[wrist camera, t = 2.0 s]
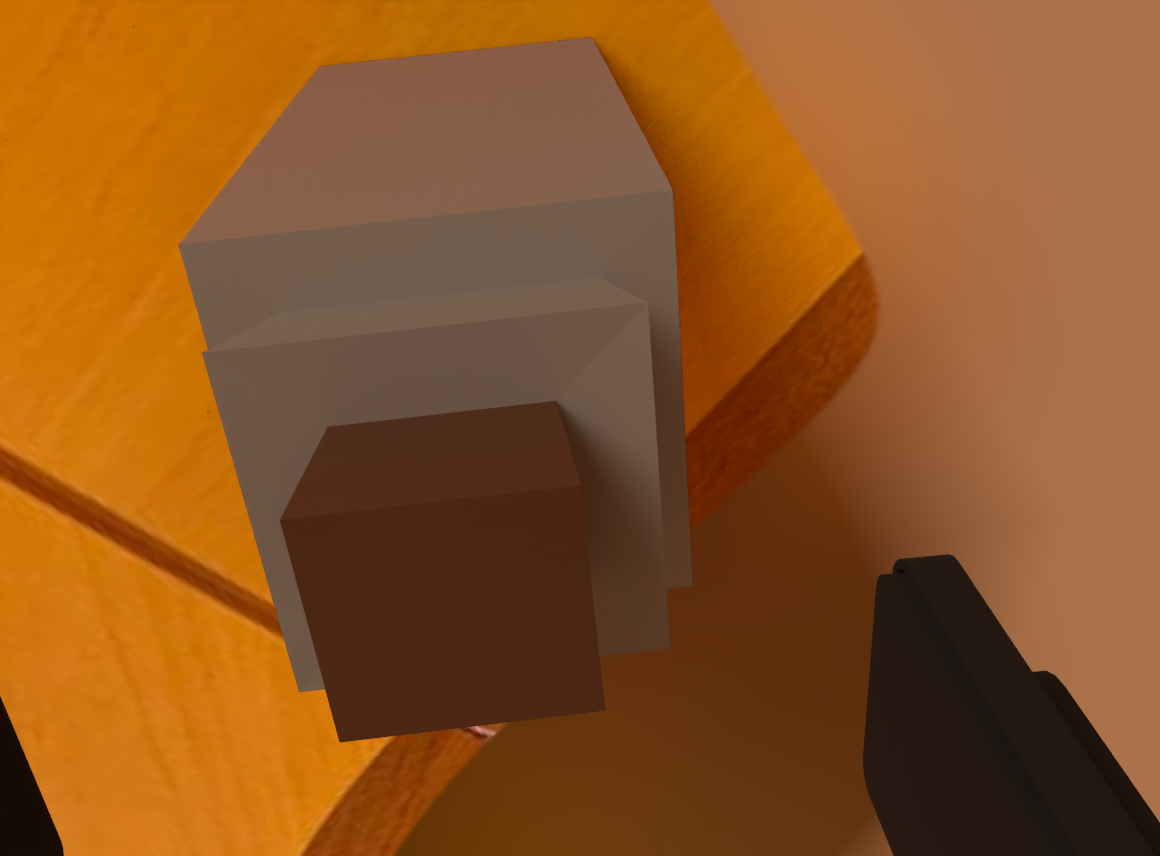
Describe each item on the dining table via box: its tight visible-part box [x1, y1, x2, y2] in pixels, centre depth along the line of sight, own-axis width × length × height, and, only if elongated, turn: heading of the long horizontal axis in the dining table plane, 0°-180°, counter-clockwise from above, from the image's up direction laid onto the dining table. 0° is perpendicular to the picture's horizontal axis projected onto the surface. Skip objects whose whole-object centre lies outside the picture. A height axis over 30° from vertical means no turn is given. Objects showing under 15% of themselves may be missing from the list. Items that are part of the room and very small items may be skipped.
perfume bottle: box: [179, 37, 693, 742], centre depth 20 cm, size 7×7×18 cm
